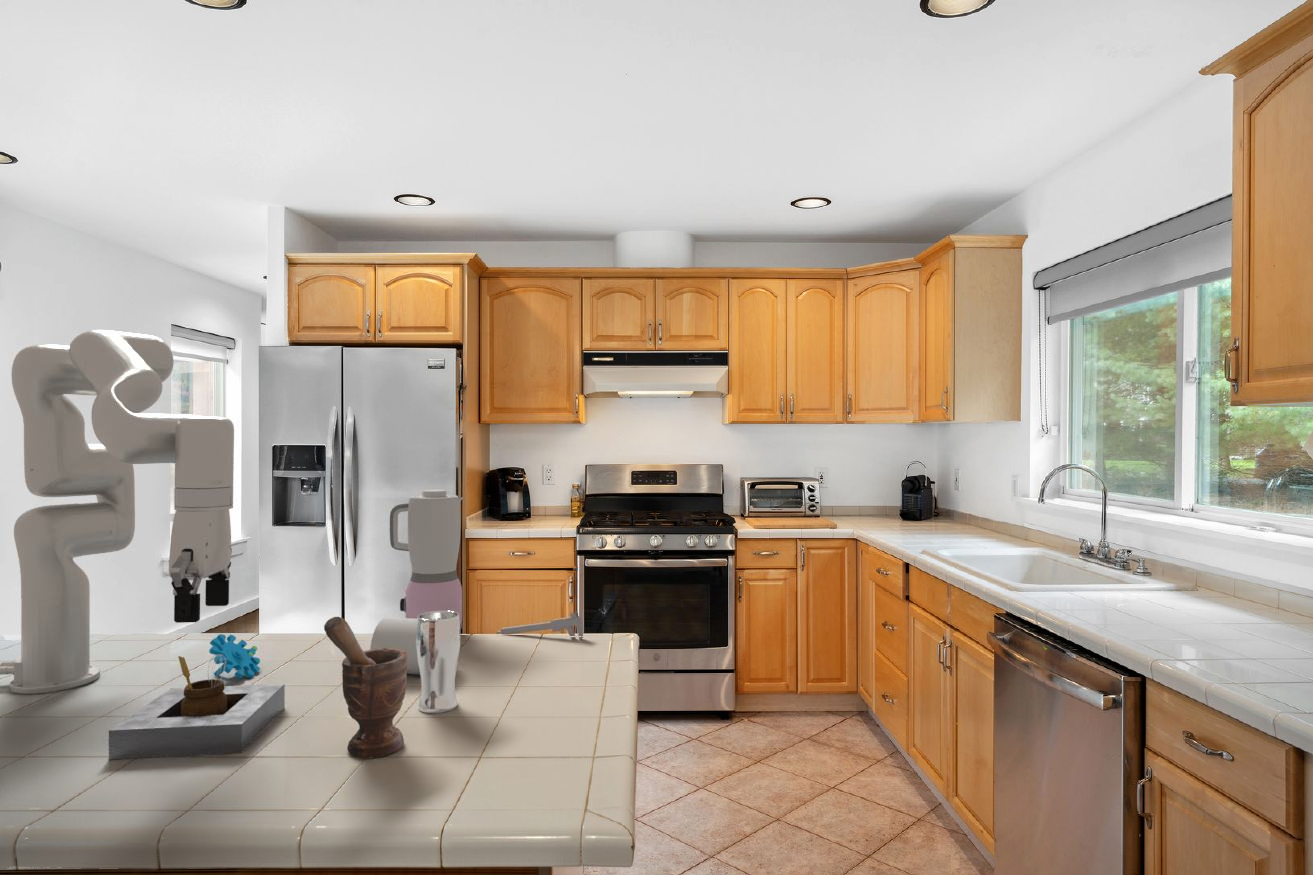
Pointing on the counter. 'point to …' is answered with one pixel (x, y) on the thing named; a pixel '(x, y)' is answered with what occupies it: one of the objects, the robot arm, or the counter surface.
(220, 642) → the gear
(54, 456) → the robot arm
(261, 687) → the hollow square block
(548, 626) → the caliper
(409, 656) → the toilet paper
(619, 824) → the counter surface
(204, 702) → the utensil holder
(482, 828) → the counter surface
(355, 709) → the mortar and pestle
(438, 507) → the blender
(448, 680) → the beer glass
